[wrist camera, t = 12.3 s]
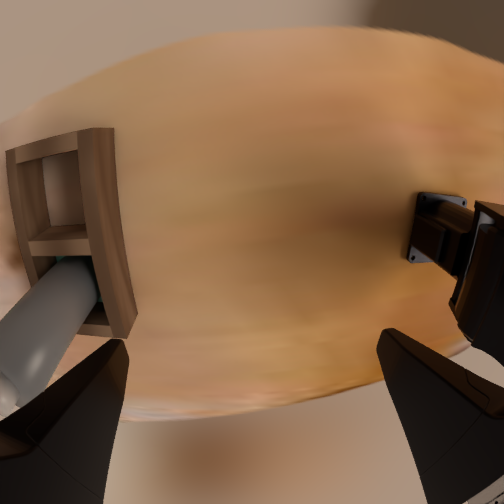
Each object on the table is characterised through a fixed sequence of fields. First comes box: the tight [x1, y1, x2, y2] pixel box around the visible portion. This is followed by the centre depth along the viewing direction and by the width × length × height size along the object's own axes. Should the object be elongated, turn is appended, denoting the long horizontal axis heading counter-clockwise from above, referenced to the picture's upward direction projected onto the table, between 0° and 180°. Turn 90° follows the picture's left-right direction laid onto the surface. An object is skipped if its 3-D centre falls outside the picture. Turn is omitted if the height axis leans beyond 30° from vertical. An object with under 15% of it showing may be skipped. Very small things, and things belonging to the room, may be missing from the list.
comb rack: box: [5, 128, 138, 339], centre depth 18 cm, size 8×16×4 cm, turn 179°
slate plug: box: [0, 255, 101, 417], centre depth 14 cm, size 5×5×15 cm
